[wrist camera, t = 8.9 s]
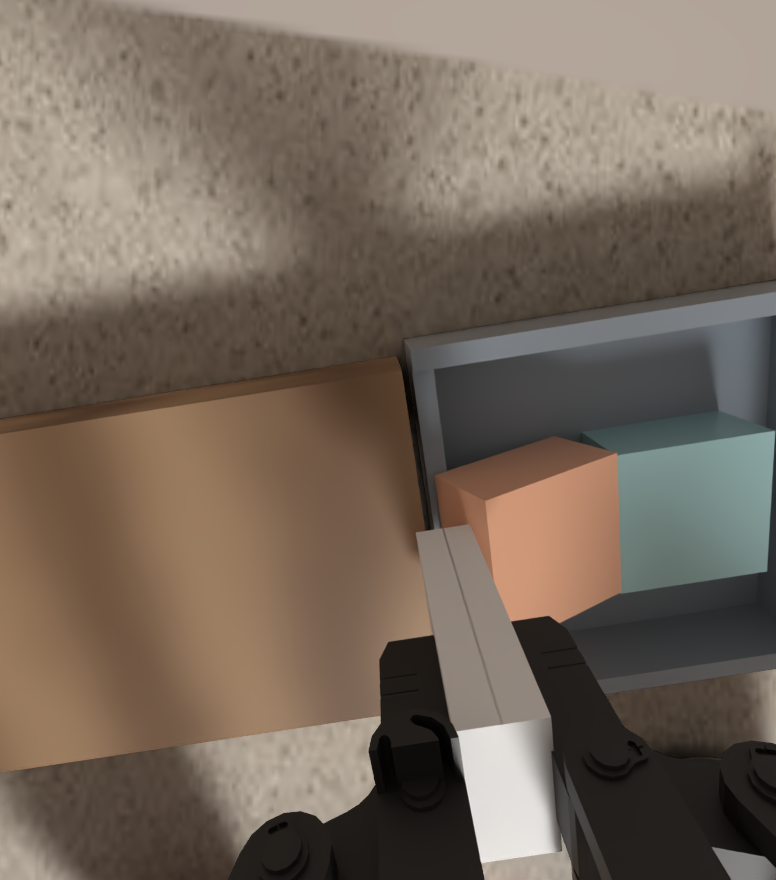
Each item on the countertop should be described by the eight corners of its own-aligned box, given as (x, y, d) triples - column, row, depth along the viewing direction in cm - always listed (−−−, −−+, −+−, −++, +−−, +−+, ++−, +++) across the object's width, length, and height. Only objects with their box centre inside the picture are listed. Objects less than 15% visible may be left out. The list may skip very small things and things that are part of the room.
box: (448, 654, 20) (467, 741, 16) (403, 338, 17) (413, 354, 13) (762, 606, 20) (856, 683, 16) (781, 278, 17) (905, 276, 13)
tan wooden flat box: (-78, 723, 20) (-152, 795, 17) (-214, 452, 17) (-332, 486, 14) (439, 644, 20) (451, 705, 17) (396, 356, 17) (401, 370, 14)
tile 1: (767, 571, 16) (715, 534, 18) (775, 430, 15) (718, 410, 17) (620, 593, 16) (587, 553, 18) (615, 455, 15) (581, 432, 17)
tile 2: (452, 608, 17) (501, 652, 14) (434, 475, 15) (484, 500, 13) (562, 559, 18) (621, 591, 16) (554, 435, 17) (617, 452, 15)
